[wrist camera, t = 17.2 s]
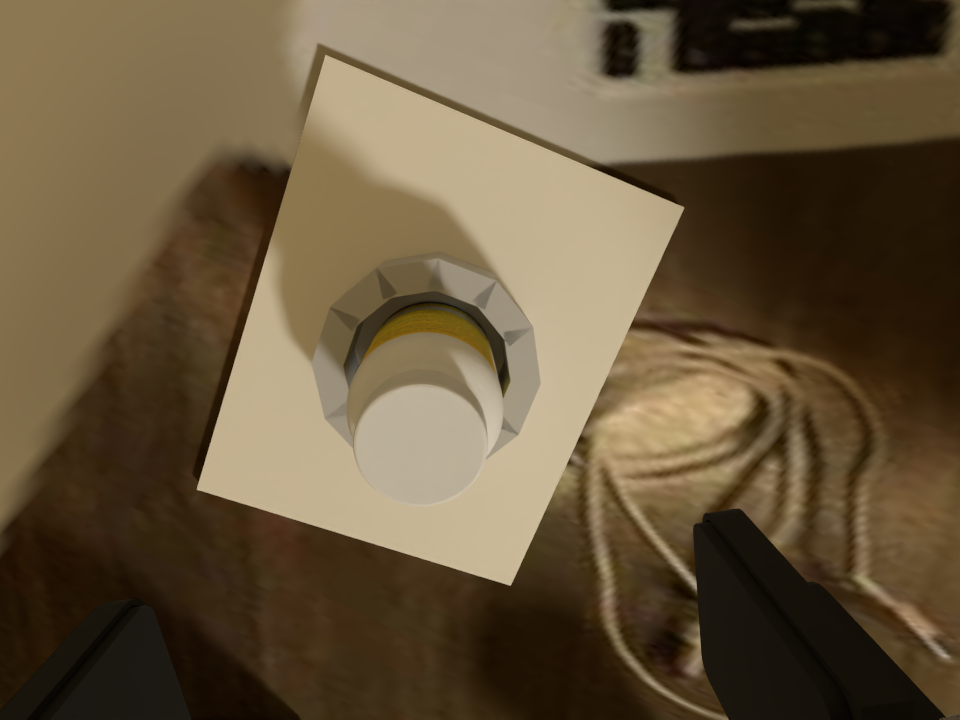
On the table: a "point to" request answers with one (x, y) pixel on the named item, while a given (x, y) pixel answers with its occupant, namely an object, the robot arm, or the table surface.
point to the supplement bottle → (425, 404)
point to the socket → (429, 277)
